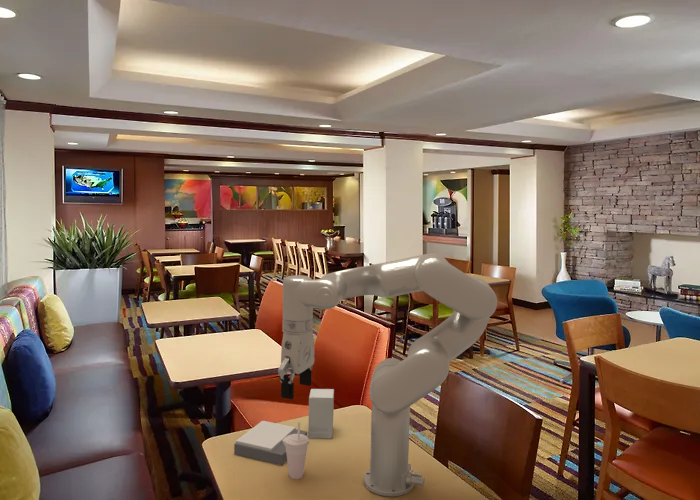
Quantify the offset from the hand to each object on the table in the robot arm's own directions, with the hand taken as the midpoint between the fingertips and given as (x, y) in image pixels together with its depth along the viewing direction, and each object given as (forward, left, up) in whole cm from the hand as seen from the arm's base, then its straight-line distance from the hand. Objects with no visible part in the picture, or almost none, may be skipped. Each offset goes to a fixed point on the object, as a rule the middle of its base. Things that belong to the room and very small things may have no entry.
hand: (296, 391), depth 129 cm
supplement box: (+4, -24, -23) cm, 33 cm away
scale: (+13, -10, -22) cm, 28 cm away
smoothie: (0, 0, -22) cm, 23 cm away
